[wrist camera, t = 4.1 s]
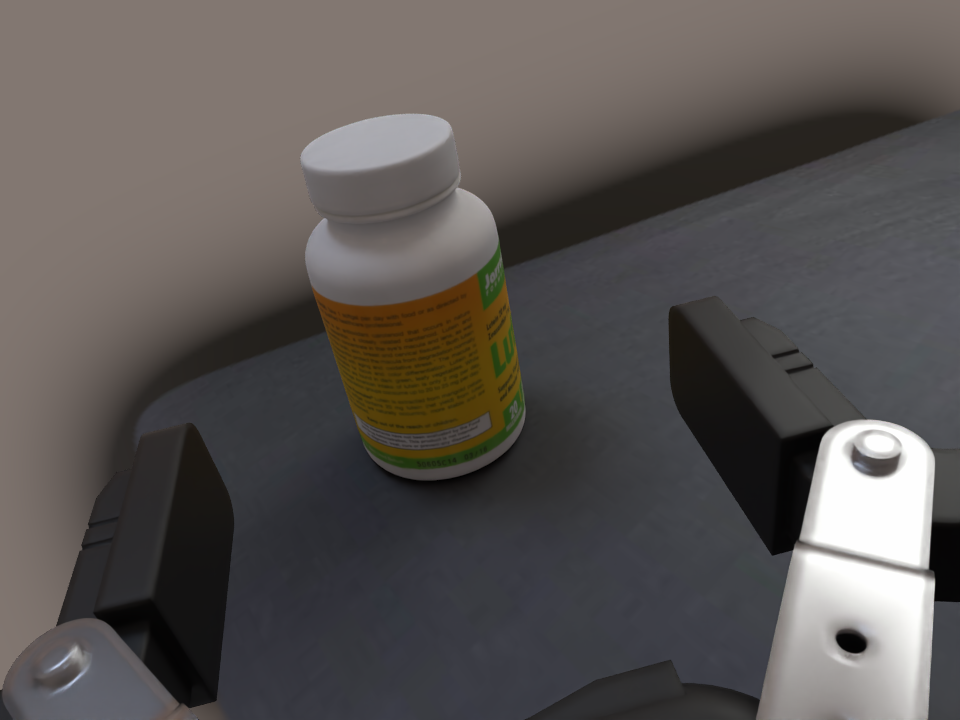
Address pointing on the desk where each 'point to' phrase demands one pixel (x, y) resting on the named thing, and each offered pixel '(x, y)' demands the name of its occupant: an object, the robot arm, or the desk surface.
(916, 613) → the robot arm
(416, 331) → the supplement bottle
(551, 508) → the desk surface
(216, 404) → the desk surface
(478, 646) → the desk surface
